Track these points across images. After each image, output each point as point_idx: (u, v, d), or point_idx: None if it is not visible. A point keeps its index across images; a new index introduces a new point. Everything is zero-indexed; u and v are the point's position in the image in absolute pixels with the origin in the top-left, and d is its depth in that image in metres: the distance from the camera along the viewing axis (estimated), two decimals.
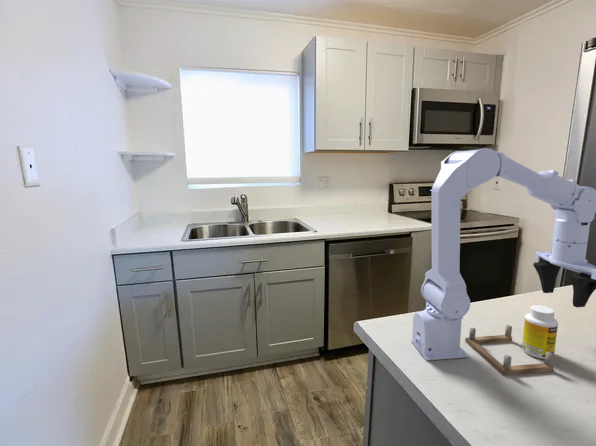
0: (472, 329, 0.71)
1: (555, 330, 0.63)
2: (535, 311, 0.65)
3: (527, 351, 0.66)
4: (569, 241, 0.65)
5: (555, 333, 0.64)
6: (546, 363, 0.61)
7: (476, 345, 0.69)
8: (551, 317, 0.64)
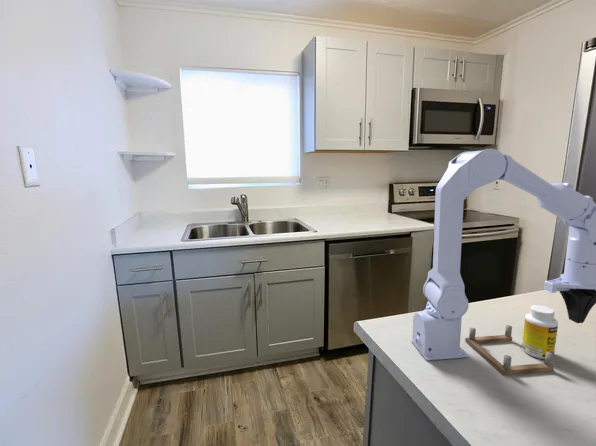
0: (472, 329, 0.71)
1: (555, 330, 0.63)
2: (535, 311, 0.65)
3: (527, 351, 0.66)
4: (581, 261, 0.62)
5: (555, 333, 0.64)
6: (546, 363, 0.61)
7: (476, 345, 0.69)
8: (551, 317, 0.64)
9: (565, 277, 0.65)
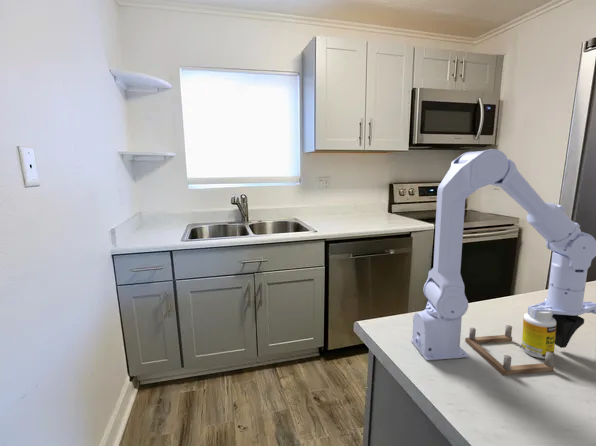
0: (472, 329, 0.71)
1: (554, 329, 0.63)
2: None
3: (527, 351, 0.66)
4: (563, 287, 0.63)
5: (554, 332, 0.64)
6: (546, 363, 0.61)
7: (476, 345, 0.69)
8: (549, 317, 0.64)
9: (548, 302, 0.66)
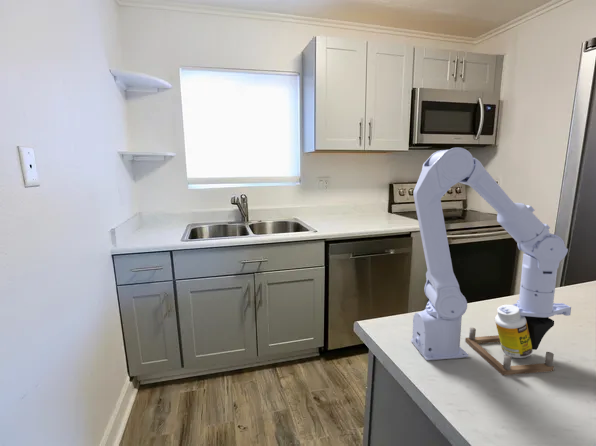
0: (472, 329, 0.71)
1: (524, 328, 0.63)
2: (500, 314, 0.64)
3: (506, 353, 0.66)
4: (531, 289, 0.63)
5: (526, 331, 0.63)
6: (546, 363, 0.61)
7: (476, 345, 0.69)
8: (517, 317, 0.63)
9: (519, 304, 0.66)
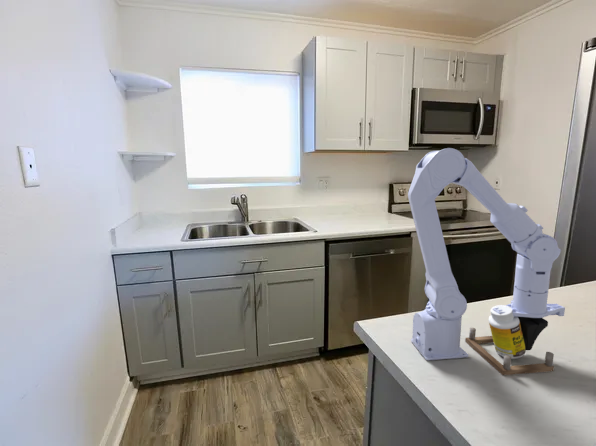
0: (472, 329, 0.71)
1: (518, 329, 0.63)
2: (494, 314, 0.64)
3: (499, 353, 0.66)
4: (525, 289, 0.63)
5: (519, 332, 0.63)
6: (546, 363, 0.61)
7: (476, 345, 0.69)
8: (510, 317, 0.63)
9: (513, 304, 0.66)
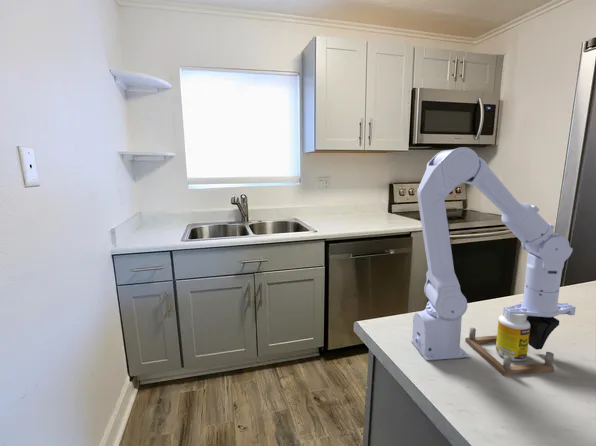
0: (472, 329, 0.71)
1: (527, 332, 0.63)
2: (507, 313, 0.64)
3: (500, 353, 0.66)
4: (536, 288, 0.63)
5: (527, 335, 0.63)
6: (546, 363, 0.61)
7: (476, 345, 0.69)
8: (523, 319, 0.63)
9: (524, 303, 0.66)
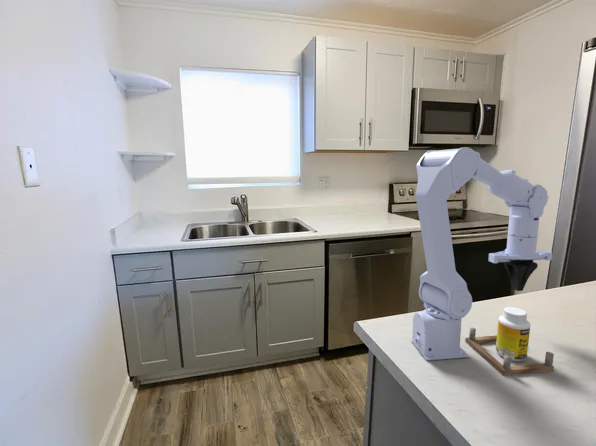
0: (472, 329, 0.71)
1: (527, 332, 0.63)
2: (507, 313, 0.64)
3: (500, 353, 0.66)
4: (524, 235, 0.70)
5: (527, 335, 0.63)
6: (546, 363, 0.61)
7: (476, 345, 0.69)
8: (523, 319, 0.63)
9: (507, 250, 0.74)
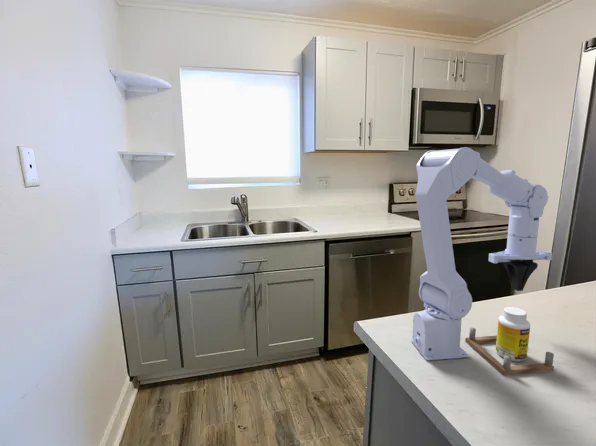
0: (472, 329, 0.71)
1: (527, 332, 0.63)
2: (507, 313, 0.64)
3: (500, 353, 0.66)
4: (524, 235, 0.70)
5: (527, 335, 0.63)
6: (546, 363, 0.61)
7: (476, 345, 0.69)
8: (523, 319, 0.63)
9: (507, 250, 0.74)
